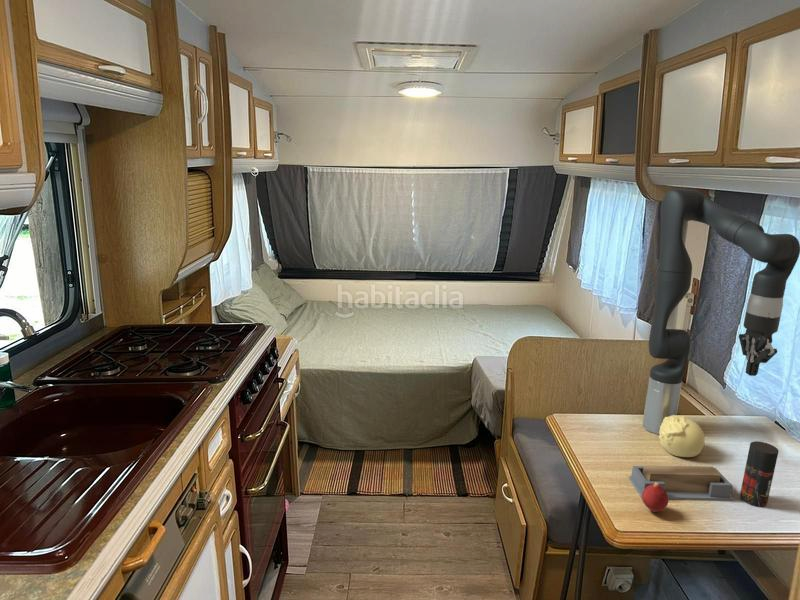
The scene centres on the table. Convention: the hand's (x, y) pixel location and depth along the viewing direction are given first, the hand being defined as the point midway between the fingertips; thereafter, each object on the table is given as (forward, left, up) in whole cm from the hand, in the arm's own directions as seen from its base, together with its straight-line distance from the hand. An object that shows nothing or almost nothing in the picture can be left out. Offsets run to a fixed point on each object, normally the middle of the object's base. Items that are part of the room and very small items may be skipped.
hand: (751, 374), depth 144 cm
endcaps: (+9, -19, -29) cm, 36 cm away
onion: (+19, -30, -29) cm, 46 cm away
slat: (+9, -19, -28) cm, 35 cm away
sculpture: (-10, -10, -29) cm, 33 cm away
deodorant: (+13, -2, -29) cm, 32 cm away
